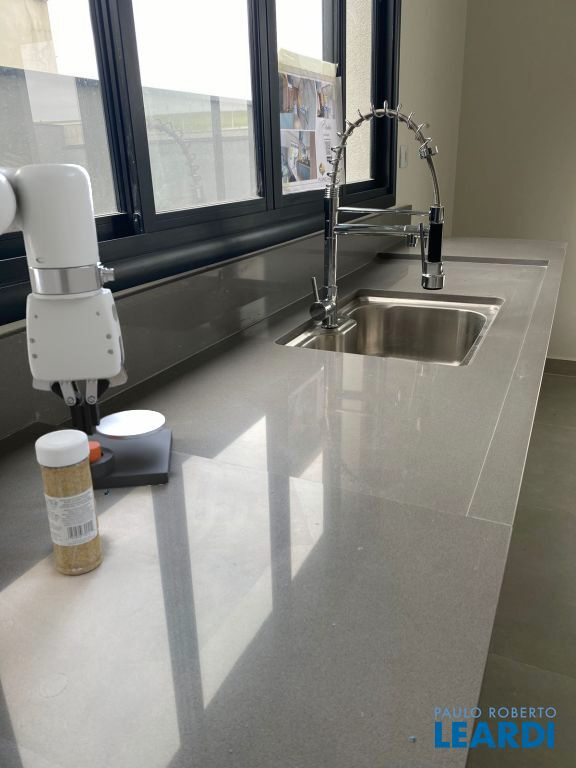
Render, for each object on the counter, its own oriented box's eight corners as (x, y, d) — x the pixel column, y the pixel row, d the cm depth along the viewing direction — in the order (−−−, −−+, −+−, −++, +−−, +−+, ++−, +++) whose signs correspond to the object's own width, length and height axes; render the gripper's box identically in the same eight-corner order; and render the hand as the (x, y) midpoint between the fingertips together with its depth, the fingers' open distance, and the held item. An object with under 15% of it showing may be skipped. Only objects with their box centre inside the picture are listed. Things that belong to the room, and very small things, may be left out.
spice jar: (102, 545, 62) (86, 424, 58) (105, 571, 58) (88, 443, 54) (54, 555, 61) (35, 431, 56) (54, 581, 57) (33, 451, 52)
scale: (64, 494, 73) (60, 468, 71) (84, 445, 86) (81, 422, 85) (168, 486, 74) (166, 460, 73) (172, 439, 88) (171, 417, 87)
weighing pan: (91, 449, 76) (90, 437, 76) (102, 422, 85) (101, 412, 84) (164, 444, 78) (163, 432, 77) (167, 418, 86) (166, 408, 86)
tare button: (75, 464, 73) (73, 451, 73) (79, 454, 76) (78, 441, 75) (99, 462, 74) (97, 449, 73) (102, 453, 76) (101, 440, 76)
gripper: (138, 273, 72) (152, 416, 78) (7, 278, 70) (31, 424, 76) (131, 283, 65) (148, 439, 71) (-15, 289, 63) (15, 449, 69)
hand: (87, 431), depth 74 cm, fingers closed
